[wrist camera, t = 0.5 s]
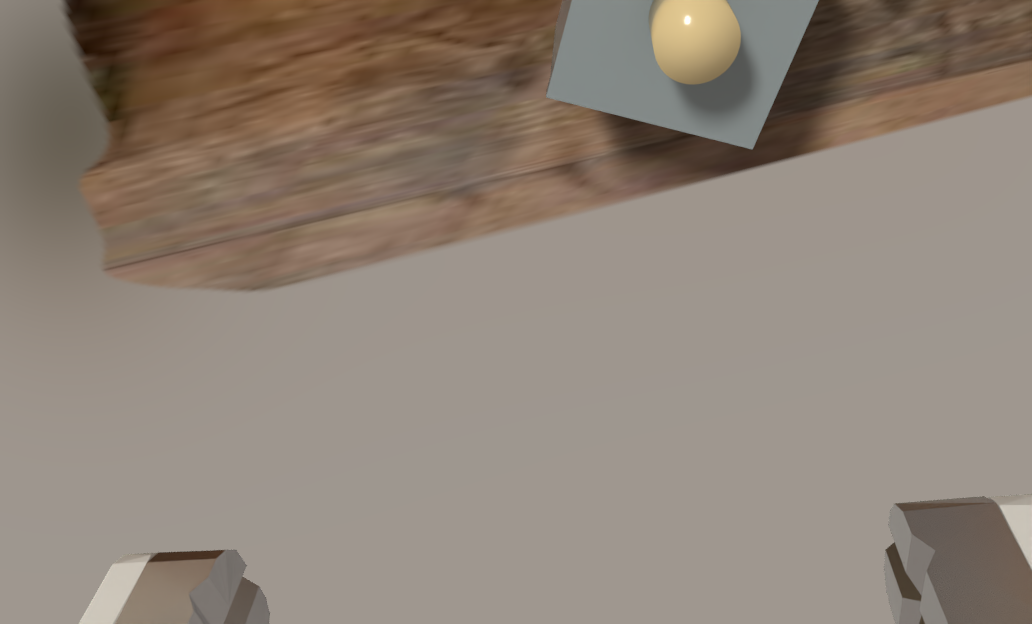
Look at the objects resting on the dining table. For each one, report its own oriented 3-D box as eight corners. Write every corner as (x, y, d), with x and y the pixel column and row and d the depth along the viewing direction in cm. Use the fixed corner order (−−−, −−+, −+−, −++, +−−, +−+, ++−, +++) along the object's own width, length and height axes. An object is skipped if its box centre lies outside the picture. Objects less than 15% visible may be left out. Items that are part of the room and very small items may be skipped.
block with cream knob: (609, -151, 34) (612, -131, 30) (840, -86, 35) (878, -57, 31) (547, 82, 40) (542, 127, 36) (746, 132, 41) (765, 183, 37)
